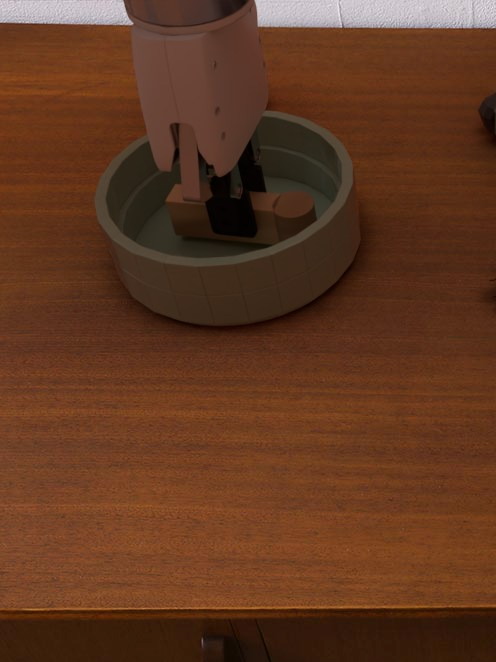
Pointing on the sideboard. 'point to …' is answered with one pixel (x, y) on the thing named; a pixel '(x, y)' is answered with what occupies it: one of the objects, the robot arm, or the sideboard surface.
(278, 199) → the round-ended wooden block
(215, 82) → the robot arm
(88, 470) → the sideboard surface
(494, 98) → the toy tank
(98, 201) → the bowl
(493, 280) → the insect
